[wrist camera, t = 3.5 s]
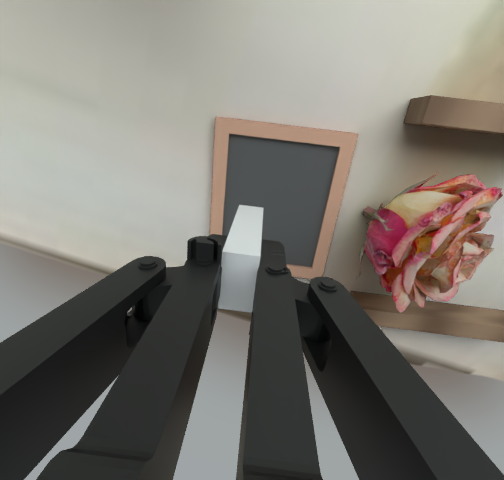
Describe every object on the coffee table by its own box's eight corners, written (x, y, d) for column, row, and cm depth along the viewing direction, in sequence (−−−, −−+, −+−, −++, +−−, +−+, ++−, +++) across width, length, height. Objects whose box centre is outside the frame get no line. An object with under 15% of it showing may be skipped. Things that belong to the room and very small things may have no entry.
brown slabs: (622, 123, 18) (674, 123, 15) (498, 324, 25) (521, 344, 22) (411, 98, 18) (431, 95, 16) (346, 304, 25) (354, 322, 22)
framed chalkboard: (356, 133, 19) (358, 133, 18) (320, 277, 24) (321, 280, 23) (216, 116, 19) (215, 116, 19) (209, 263, 24) (208, 265, 23)
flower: (312, 268, 22) (398, 348, 16) (342, 155, 16) (486, 217, 11) (388, 239, 26) (476, 294, 20) (432, 142, 21) (567, 182, 15)
